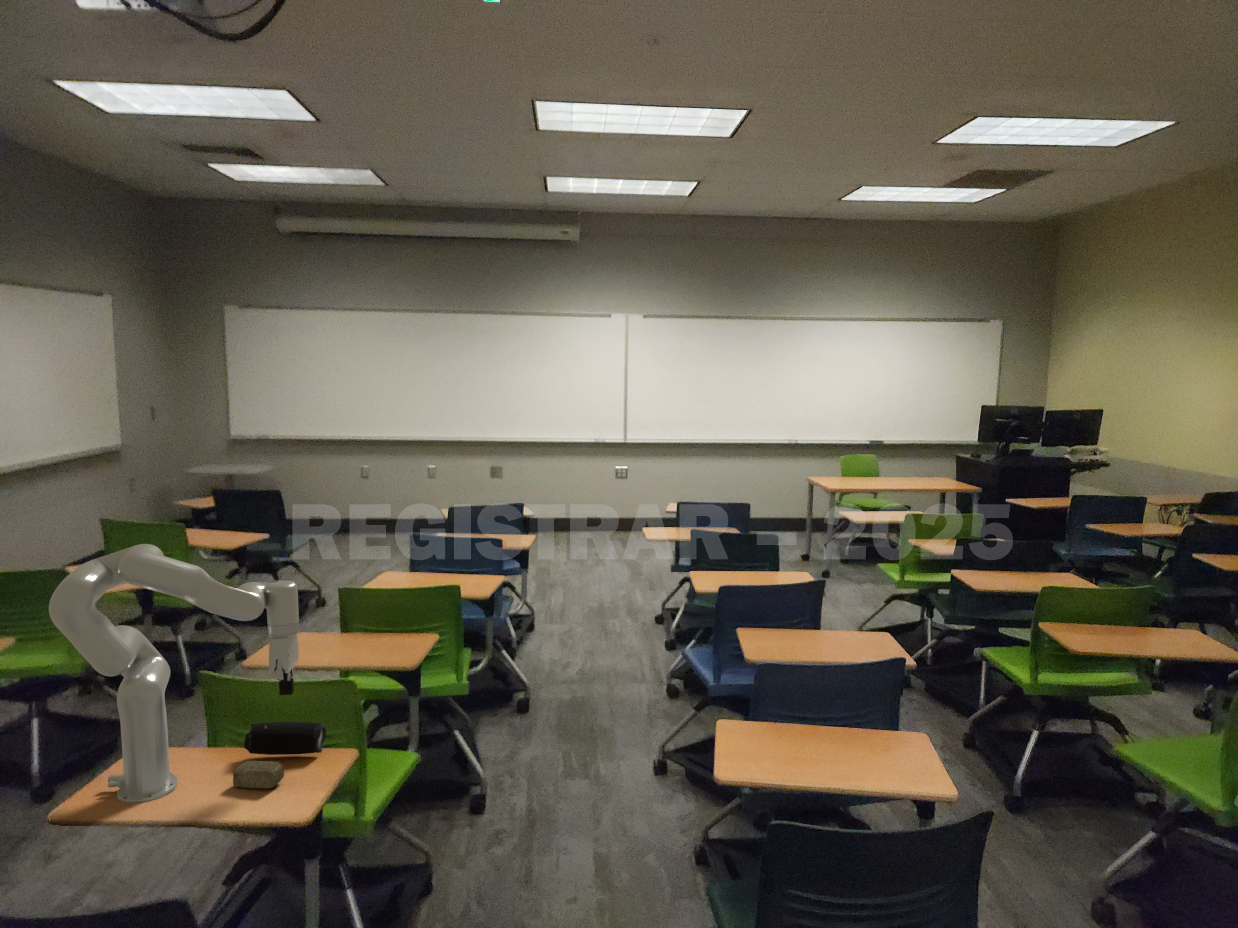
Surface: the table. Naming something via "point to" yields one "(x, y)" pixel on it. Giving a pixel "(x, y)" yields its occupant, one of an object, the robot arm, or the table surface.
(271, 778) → the stone block
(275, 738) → the portable speaker
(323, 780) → the table surface
